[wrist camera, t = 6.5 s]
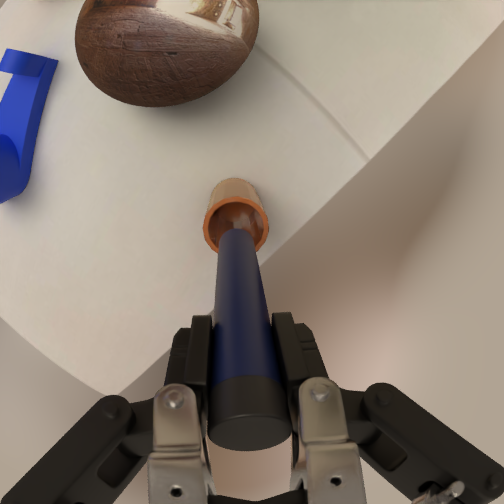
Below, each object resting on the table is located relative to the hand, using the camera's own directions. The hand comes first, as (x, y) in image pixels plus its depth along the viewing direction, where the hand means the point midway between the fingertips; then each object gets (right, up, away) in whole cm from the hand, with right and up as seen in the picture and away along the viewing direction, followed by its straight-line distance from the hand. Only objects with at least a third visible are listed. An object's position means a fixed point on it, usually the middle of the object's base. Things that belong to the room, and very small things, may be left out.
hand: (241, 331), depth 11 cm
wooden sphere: (-7, +25, +12) cm, 28 cm away
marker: (-1, +4, +8) cm, 9 cm away
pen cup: (-1, +9, +19) cm, 21 cm away
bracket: (-30, +19, +12) cm, 38 cm away
